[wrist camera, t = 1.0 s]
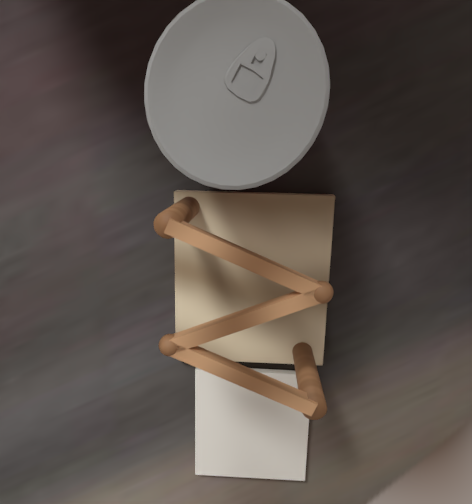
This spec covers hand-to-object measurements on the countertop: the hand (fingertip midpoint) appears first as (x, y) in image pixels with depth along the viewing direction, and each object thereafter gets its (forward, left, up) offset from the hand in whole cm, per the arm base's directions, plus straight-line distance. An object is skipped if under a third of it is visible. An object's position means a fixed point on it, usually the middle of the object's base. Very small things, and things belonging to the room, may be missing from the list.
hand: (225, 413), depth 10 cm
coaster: (+14, +1, -21) cm, 25 cm away
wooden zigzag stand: (+3, 0, -21) cm, 21 cm away
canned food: (-8, -1, -21) cm, 22 cm away
